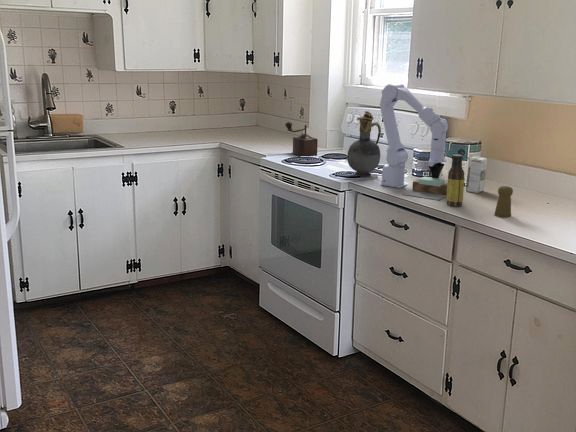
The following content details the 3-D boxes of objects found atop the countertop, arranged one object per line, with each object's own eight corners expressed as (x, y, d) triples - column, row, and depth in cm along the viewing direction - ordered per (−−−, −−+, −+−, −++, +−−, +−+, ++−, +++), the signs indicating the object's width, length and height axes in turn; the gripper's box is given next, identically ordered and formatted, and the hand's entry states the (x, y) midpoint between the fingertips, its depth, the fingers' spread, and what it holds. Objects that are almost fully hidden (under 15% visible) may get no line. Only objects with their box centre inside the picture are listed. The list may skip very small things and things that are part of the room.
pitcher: (343, 175, 300) (345, 111, 292) (369, 170, 313) (372, 109, 305) (360, 179, 293) (364, 113, 285) (386, 174, 305) (390, 111, 297)
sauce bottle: (458, 202, 254) (462, 153, 248) (465, 206, 248) (470, 156, 242) (442, 203, 252) (447, 153, 247) (449, 207, 246) (454, 156, 241)
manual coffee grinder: (307, 152, 360) (308, 120, 355) (317, 155, 351) (318, 122, 346) (283, 154, 353) (283, 121, 348) (292, 157, 344) (293, 124, 339)
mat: (402, 194, 265) (402, 194, 265) (410, 190, 273) (410, 190, 272) (438, 200, 257) (438, 199, 257) (446, 196, 264) (446, 195, 264)
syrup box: (471, 189, 278) (474, 156, 274) (484, 191, 274) (487, 157, 270) (465, 191, 274) (468, 157, 270) (478, 193, 270) (482, 159, 266)
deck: (412, 190, 273) (412, 181, 272) (422, 185, 282) (423, 176, 281) (446, 195, 265) (446, 186, 264) (455, 190, 274) (456, 181, 273)
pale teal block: (418, 183, 268) (419, 178, 267) (424, 181, 273) (424, 176, 272) (439, 186, 263) (439, 181, 263) (444, 183, 268) (444, 179, 267)
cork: (491, 215, 236) (494, 186, 233) (499, 212, 240) (502, 184, 237) (506, 218, 232) (509, 189, 229) (514, 215, 236) (517, 186, 233)
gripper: (440, 152, 259) (437, 184, 263) (452, 147, 271) (450, 178, 275) (424, 150, 263) (421, 182, 267) (436, 145, 275) (434, 176, 279)
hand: (435, 180), depth 271 cm, fingers closed
